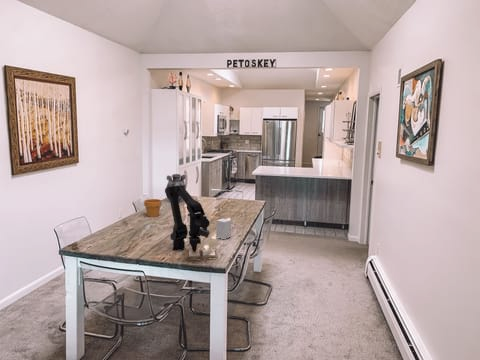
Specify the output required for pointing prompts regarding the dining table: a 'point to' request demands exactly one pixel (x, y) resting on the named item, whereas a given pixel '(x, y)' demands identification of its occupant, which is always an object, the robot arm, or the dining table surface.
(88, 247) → the dining table surface
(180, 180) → the decorative vase
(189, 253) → the stub
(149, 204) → the flower pot
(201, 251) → the ticket board
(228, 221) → the supplement box
